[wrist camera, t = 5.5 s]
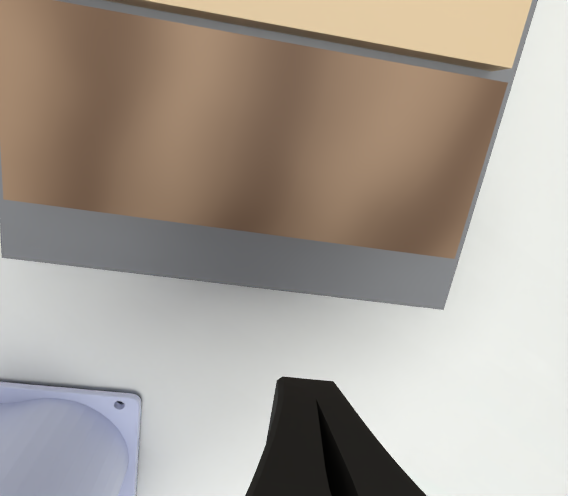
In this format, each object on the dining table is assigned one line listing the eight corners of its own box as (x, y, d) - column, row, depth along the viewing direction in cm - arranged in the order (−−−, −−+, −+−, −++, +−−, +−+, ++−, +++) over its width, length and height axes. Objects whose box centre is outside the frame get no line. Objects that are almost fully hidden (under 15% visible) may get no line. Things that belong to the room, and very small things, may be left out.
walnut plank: (23, 192, 17) (3, 199, 16) (15, -1, 15) (-9, -12, 13) (440, 248, 19) (454, 258, 17) (488, 84, 17) (508, 82, 15)
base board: (14, 249, 19) (-19, 269, 16) (-12, -282, 13) (-68, -363, 11) (435, 300, 21) (456, 324, 18) (565, -140, 15) (618, -184, 13)
